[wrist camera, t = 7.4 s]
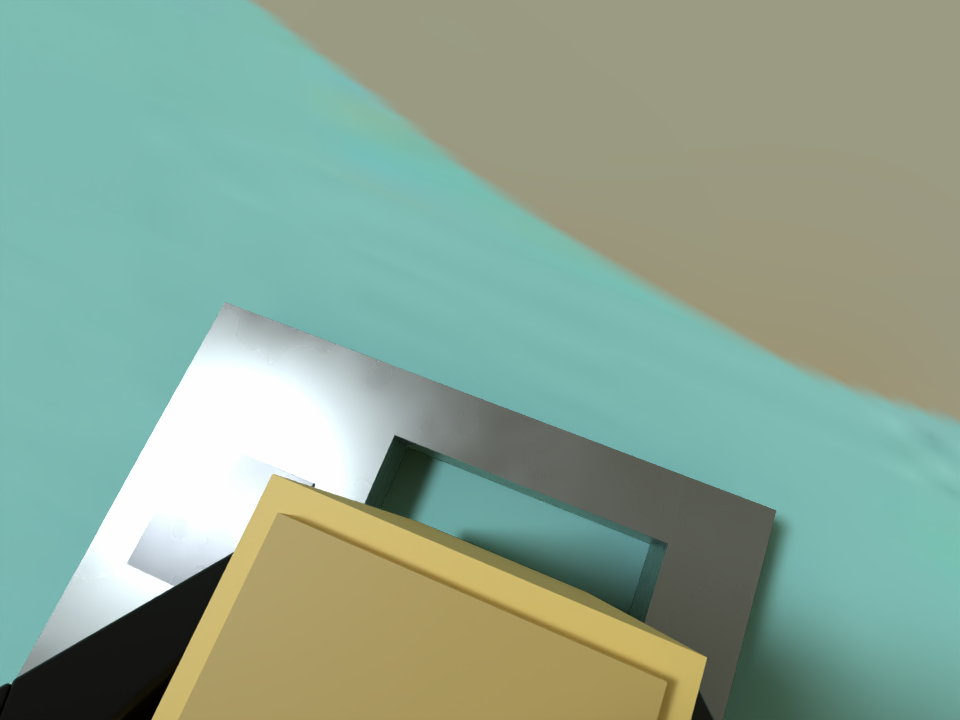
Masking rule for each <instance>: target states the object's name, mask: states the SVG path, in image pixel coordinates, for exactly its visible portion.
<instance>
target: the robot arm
mask: <svg viewBox="0 0 960 720" xmlns="http://www.w3.org/2000/svg"><path fill="white" fill-rule="evenodd" d="M233 553H234V552H233ZM233 553H231V554H229V555H227V556H226V557H224V558H222V559H221V560H219V561H217V562H215V563H214V564H212V565H210V566H208V567H207V568H205V569H203V570H202V571H200V572H198V573H196V574H195V575H193V576H191V577H189V578H188V579H186V580H184V581H183V582H181V583H179V584H177V585H176V586H174V587H172V588H170V589H169V590H167V591H165V592H164V593H162V594H160V595H158V596H157V597H155V598H153V599H151V600H150V601H148V602H146V603H145V604H143V605H141V606H139V607H138V608H136V609H134V610H132V611H131V612H129V613H127V614H126V615H124V616H122V617H120V618H119V619H117V620H115V621H114V622H112V623H110V624H108V625H107V626H105V627H103V628H101V629H100V630H98V631H96V632H95V633H93V634H91V635H89V636H88V637H86V638H84V639H82V640H81V641H79V642H77V643H76V644H74V645H72V646H70V647H69V648H67V649H65V650H63V651H62V652H60V653H58V654H57V655H55V656H53V657H51V658H50V659H48V660H46V661H44V662H43V663H41V664H39V665H38V666H36V667H34V668H32V669H31V670H29V671H27V672H25V673H24V674H22V675H20V676H19V677H17V678H15V680H14V681H13V683H12V685H11V684H10V683H7V684H4V685H3V686H1V687H0V720H152V718H153V716H154V714H155V712H156V709H157V707H158V705H159V703H160V701H161V699H162V697H163V695H164V693H165V691H166V689H167V687H168V685H169V683H170V681H171V679H172V677H173V675H174V673H175V671H176V669H177V667H178V665H179V663H180V661H181V659H182V657H183V655H184V653H185V651H186V648H187V646H188V644H189V642H190V640H191V638H192V636H193V634H194V632H195V630H196V628H197V626H198V624H199V622H200V620H201V618H202V616H203V614H204V612H205V610H206V608H207V606H208V604H209V602H210V600H211V598H212V596H213V594H214V592H215V590H216V587H217V585H218V583H219V581H220V579H221V577H222V575H223V573H224V571H225V569H226V567H227V565H228V563H229V561H230V559H231V557H232V555H233ZM691 720H714V718H713V716H712V714H711V712H710V710H709V708H708V706H707V704H706V702H705V700H704V698H703V696H702V694H701V692H700V690H699V691H698V695H697V698H696V702H695V706H694V710H693V713H692V717H691Z"/></svg>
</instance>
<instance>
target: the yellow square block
mask: <svg viewBox="0 0 960 720" xmlns="http://www.w3.org/2000/svg"><path fill="white" fill-rule="evenodd" d="M706 661H707V657H705V656H704V655H702V654H700V653H698V652H696V651H694V650H692V649H691V648H689V647H687V646H685V645H683V644H681V643H680V642H678V641H676V640H674V639H672V638H670V637H668V636H667V635H665V634H663V633H661V632H659V631H657V630H656V629H654V628H652V627H650V626H648V625H646V624H645V623H643V622H641V621H639V620H637V619H635V618H633V617H632V616H630V615H628V614H626V613H624V612H622V611H621V610H619V609H617V608H615V607H613V606H611V605H609V604H608V603H606V602H604V601H602V600H600V599H598V598H597V597H595V596H593V595H591V594H589V593H587V592H585V591H583V590H580V589H578V588H576V587H573V586H571V585H568V584H566V583H564V582H561V581H559V580H556V579H554V578H552V577H549V576H547V575H545V574H542V573H540V572H537V571H535V570H533V569H530V568H528V567H525V566H523V565H521V564H518V563H516V562H514V561H511V560H509V559H506V558H504V557H502V556H499V555H497V554H494V553H492V552H490V551H487V550H485V549H483V548H480V547H478V546H475V545H473V544H471V543H468V542H466V541H463V540H461V539H459V538H456V537H454V536H452V535H449V534H447V533H444V532H442V531H440V530H437V529H435V528H432V527H430V526H428V525H425V524H423V523H420V522H417V521H414V520H411V519H408V518H405V517H402V516H399V515H396V514H393V513H390V512H387V511H384V510H381V509H378V508H375V507H372V506H369V505H366V504H363V503H360V502H357V501H354V500H351V499H348V498H345V497H342V496H339V495H336V494H333V493H330V492H327V491H324V490H321V489H318V488H315V487H312V486H309V485H306V484H303V483H300V482H297V481H294V480H291V479H288V478H285V477H282V476H279V475H276V474H272V476H271V478H270V480H269V482H268V484H267V486H266V488H265V490H264V492H263V494H262V496H261V498H260V500H259V502H258V504H257V506H256V508H255V510H254V512H253V514H252V516H251V518H250V520H249V522H248V524H247V526H246V529H245V531H244V533H243V535H242V537H241V539H240V541H239V543H238V545H237V547H236V549H235V551H234V553H233V555H232V557H231V559H230V561H229V563H228V565H227V567H226V569H225V571H224V573H223V575H222V577H221V579H220V581H219V583H218V585H217V587H216V590H215V592H214V594H213V596H212V598H211V600H210V602H209V604H208V606H207V608H206V610H205V612H204V614H203V616H202V618H201V620H200V622H199V624H198V626H197V628H196V630H195V632H194V634H193V636H192V638H191V640H190V642H189V644H188V646H187V648H186V651H185V653H184V655H183V657H182V659H181V661H180V663H179V665H178V667H177V669H176V671H175V673H174V675H173V677H172V679H171V681H170V683H169V685H168V687H167V689H166V691H165V693H164V695H163V697H162V699H161V701H160V703H159V705H158V707H157V709H156V712H155V714H154V716H153V718H152V720H691V717H692V713H693V710H694V706H695V702H696V698H697V695H698V691H699V687H700V683H701V679H702V676H703V672H704V668H705V664H706Z"/></svg>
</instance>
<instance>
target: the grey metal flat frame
mask: <svg viewBox="0 0 960 720" xmlns="http://www.w3.org/2000/svg"><path fill="white" fill-rule="evenodd" d="M407 447H409V448H411V449H414V450H416V451H419V452H421V453H424V454H426V455H429V456H431V457H434V458H436V459H439V460H441V461H444V462H446V463H449V464H451V465H454V466H456V467H459V468H461V469H464V470H466V471H469V472H471V473H474V474H476V475H479V476H481V477H484V478H486V479H489V480H491V481H494V482H496V483H499V484H501V485H504V486H506V487H509V488H511V489H514V490H516V491H519V492H521V493H524V494H526V495H529V496H531V497H534V498H536V499H539V500H541V501H544V502H546V503H549V504H551V505H554V506H556V507H559V508H561V509H564V510H566V511H569V512H571V513H574V514H576V515H579V516H581V517H584V518H586V519H589V520H591V521H594V522H596V523H599V524H601V525H604V526H607V527H609V528H612V529H614V530H617V531H619V532H622V533H624V534H627V535H629V536H632V537H634V538H637V539H639V540H642V541H644V542H647V543H649V544H650V547H649V550H648V554H647V557H646V560H645V563H644V567H643V570H642V573H641V577H640V580H639V583H638V586H637V590H636V593H635V596H634V599H633V603H632V606H631V609H630V612H629V615H630V616H632V617H633V618H635V619H637V620H639V621H641V622H643V623H645V624H646V625H648V626H650V627H652V628H654V629H656V630H657V631H659V632H661V633H663V634H665V635H667V636H668V637H670V638H672V639H674V640H676V641H678V642H680V643H681V644H683V645H685V646H687V647H689V648H691V649H692V650H694V651H696V652H698V653H700V654H702V655H704V656H705V657H707V661H706V664H705V668H704V672H703V676H702V679H701V683H700V687H699V690H700V692H701V694H702V696H703V698H704V700H705V702H706V704H707V706H708V708H709V710H710V712H711V714H712V716H713V718H714V720H723V718H724V714H725V710H726V706H727V702H728V699H729V695H730V691H731V687H732V683H733V679H734V675H735V671H736V667H737V663H738V659H739V655H740V651H741V647H742V643H743V639H744V636H745V632H746V628H747V624H748V620H749V616H750V612H751V608H752V604H753V600H754V596H755V592H756V588H757V584H758V580H759V577H760V573H761V569H762V565H763V561H764V557H765V553H766V549H767V545H768V541H769V537H770V533H771V529H772V525H773V521H774V517H775V514H776V510H774V509H771V508H769V507H766V506H763V505H761V504H758V503H755V502H753V501H750V500H747V499H745V498H742V497H739V496H737V495H734V494H731V493H729V492H726V491H724V490H721V489H718V488H716V487H713V486H710V485H708V484H705V483H702V482H700V481H697V480H694V479H692V478H689V477H686V476H684V475H681V474H678V473H676V472H673V471H671V470H668V469H665V468H663V467H660V466H657V465H655V464H652V463H649V462H647V461H644V460H641V459H639V458H636V457H633V456H631V455H628V454H626V453H623V452H620V451H618V450H615V449H612V448H610V447H607V446H604V445H602V444H599V443H596V442H594V441H591V440H588V439H586V438H583V437H580V436H578V435H575V434H573V433H570V432H567V431H565V430H562V429H559V428H557V427H554V426H551V425H549V424H546V423H543V422H541V421H538V420H535V419H533V418H530V417H528V416H525V415H522V414H520V413H517V412H514V411H512V410H509V409H506V408H504V407H501V406H498V405H496V404H493V403H490V402H488V401H485V400H482V399H480V398H477V397H475V396H472V395H469V394H467V393H464V392H461V391H459V390H456V389H453V388H451V387H448V386H445V385H443V384H440V383H437V382H435V381H432V380H430V379H427V378H424V377H422V376H419V375H416V374H414V373H411V372H408V371H406V370H403V369H400V368H398V367H395V366H392V365H390V364H387V363H384V362H382V361H379V360H377V359H374V358H371V357H369V356H366V355H363V354H361V353H358V352H355V351H353V350H350V349H347V348H345V347H342V346H339V345H337V344H334V343H332V342H329V341H326V340H324V339H321V338H318V337H316V336H313V335H310V334H308V333H305V332H302V331H300V330H297V329H294V328H292V327H289V326H286V325H284V324H281V323H279V322H276V321H273V320H271V319H268V318H265V317H263V316H260V315H257V314H255V313H252V312H249V311H247V310H244V309H241V308H239V307H236V306H234V305H231V304H228V303H226V302H225V303H224V305H223V307H222V309H221V310H220V312H219V314H218V316H217V318H216V319H215V321H214V323H213V325H212V327H211V328H210V330H209V332H208V334H207V336H206V337H205V339H204V341H203V343H202V345H201V346H200V348H199V350H198V352H197V354H196V355H195V357H194V359H193V361H192V363H191V364H190V366H189V368H188V370H187V372H186V373H185V375H184V377H183V379H182V381H181V382H180V384H179V386H178V388H177V390H176V391H175V393H174V395H173V397H172V399H171V400H170V402H169V404H168V406H167V408H166V409H165V411H164V413H163V415H162V417H161V418H160V420H159V422H158V424H157V426H156V428H155V429H154V431H153V433H152V435H151V437H150V438H149V440H148V442H147V444H146V446H145V447H144V449H143V451H142V453H141V455H140V456H139V458H138V460H137V462H136V464H135V465H134V467H133V469H132V471H131V473H130V474H129V476H128V478H127V480H126V482H125V483H124V485H123V487H122V489H121V491H120V492H119V494H118V496H117V498H116V500H115V501H114V503H113V505H112V507H111V509H110V510H109V512H108V514H107V516H106V518H105V519H104V521H103V523H102V525H101V527H100V528H99V530H98V532H97V534H96V536H95V538H94V539H93V541H92V543H91V545H90V547H89V548H88V550H87V552H86V554H85V556H84V557H83V559H82V561H81V563H80V565H79V566H78V568H77V570H76V572H75V574H74V575H73V577H72V579H71V581H70V583H69V584H68V586H67V588H66V590H65V592H64V593H63V595H62V597H61V599H60V601H59V602H58V604H57V606H56V608H55V610H54V611H53V613H52V615H51V617H50V619H49V620H48V622H47V624H46V626H45V628H44V629H43V631H42V633H41V635H40V637H39V638H38V640H37V642H36V644H35V646H34V647H33V649H32V651H31V653H30V655H29V657H28V658H27V660H26V662H25V664H24V666H23V667H22V669H21V671H20V673H19V675H18V676H17V677H19V676H20V675H22V674H24V673H25V672H27V671H29V670H31V669H32V668H34V667H36V666H38V665H39V664H41V663H43V662H44V661H46V660H48V659H50V658H51V657H53V656H55V655H57V654H58V653H60V652H62V651H63V650H65V649H67V648H69V647H70V646H72V645H74V644H76V643H77V642H79V641H81V640H82V639H84V638H86V637H88V636H89V635H91V634H93V633H95V632H96V631H98V630H100V629H101V628H103V627H105V626H107V625H108V624H110V623H112V622H114V621H115V620H117V619H119V618H120V617H122V616H124V615H126V614H127V613H129V612H131V611H132V610H134V609H136V608H138V607H139V606H141V605H143V604H145V603H146V602H148V601H150V600H151V599H153V598H155V597H157V596H158V595H160V594H162V593H164V592H165V591H167V590H169V589H170V588H172V587H174V586H176V585H177V584H179V583H181V582H183V581H184V580H186V579H188V578H189V577H191V576H193V575H195V574H196V573H198V572H200V571H202V570H203V569H205V568H207V567H208V566H210V565H212V564H214V563H215V562H217V561H219V560H221V559H222V558H224V557H226V556H227V555H229V554H231V553H233V552H234V551H235V549H236V547H237V545H238V543H239V541H240V539H241V537H242V535H243V533H244V531H245V529H246V526H247V524H248V522H249V520H250V518H251V516H252V514H253V512H254V510H255V508H256V506H257V504H258V502H259V500H260V498H261V496H262V494H263V492H264V490H265V488H266V486H267V484H268V482H269V480H270V478H271V476H272V474H276V475H279V476H282V477H285V478H288V479H291V480H294V481H297V482H300V483H303V484H306V485H309V486H312V487H315V488H318V489H321V490H324V491H327V492H330V493H333V494H336V495H339V496H342V497H345V498H348V499H351V500H354V501H357V502H360V503H363V504H366V505H369V506H372V507H375V508H378V509H380V508H381V506H382V503H383V501H384V499H385V497H386V494H387V492H388V490H389V487H390V485H391V483H392V480H393V478H394V476H395V473H396V471H397V469H398V467H399V464H400V462H401V460H402V457H403V455H404V453H405V450H406V448H407Z"/></svg>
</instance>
